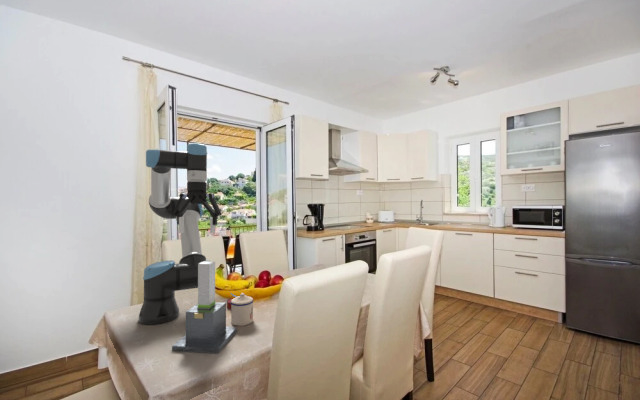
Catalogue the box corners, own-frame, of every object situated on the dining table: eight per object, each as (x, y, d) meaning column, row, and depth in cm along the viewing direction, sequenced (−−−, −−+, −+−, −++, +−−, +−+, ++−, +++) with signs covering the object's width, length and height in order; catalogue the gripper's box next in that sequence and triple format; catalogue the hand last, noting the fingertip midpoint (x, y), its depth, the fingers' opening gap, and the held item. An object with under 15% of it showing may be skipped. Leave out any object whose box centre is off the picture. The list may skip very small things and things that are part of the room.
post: (197, 320, 102) (197, 263, 102) (203, 315, 106) (203, 261, 106) (209, 321, 102) (209, 264, 101) (215, 316, 106) (215, 261, 106)
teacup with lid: (255, 323, 118) (255, 295, 118) (232, 328, 114) (232, 298, 114) (249, 313, 129) (249, 287, 129) (228, 316, 125) (228, 289, 125)
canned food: (236, 311, 143) (242, 291, 147) (250, 314, 137) (256, 292, 141) (218, 307, 135) (225, 285, 139) (232, 309, 129) (239, 286, 133)
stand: (172, 350, 97) (172, 314, 97) (197, 329, 113) (197, 298, 113) (217, 353, 95) (217, 317, 95) (236, 331, 111) (236, 300, 111)
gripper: (163, 181, 118) (163, 233, 118) (221, 180, 115) (221, 234, 115) (174, 182, 125) (174, 231, 125) (229, 182, 122) (229, 232, 122)
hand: (197, 232), depth 120 cm, fingers open, 13 cm apart
